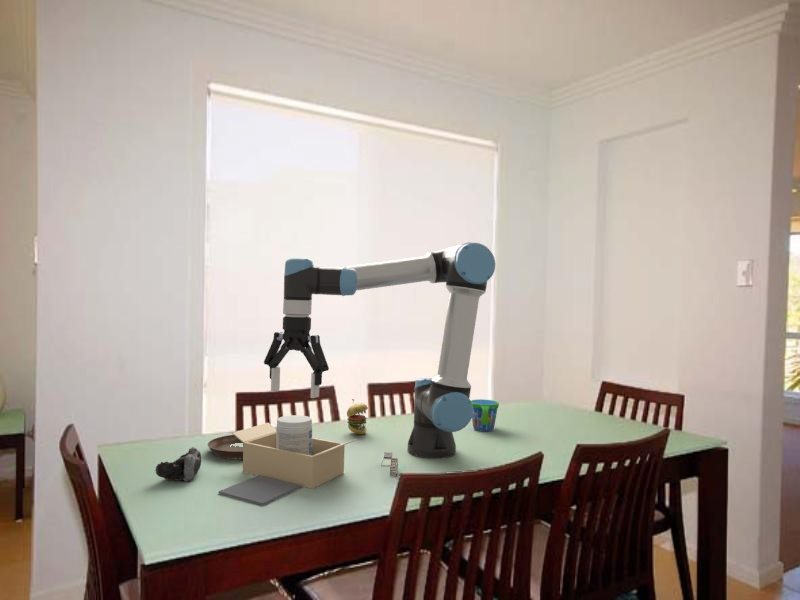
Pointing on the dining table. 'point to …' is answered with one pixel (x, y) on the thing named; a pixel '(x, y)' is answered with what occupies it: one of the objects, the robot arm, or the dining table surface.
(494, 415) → the snack cup
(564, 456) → the dining table surface
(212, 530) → the dining table surface
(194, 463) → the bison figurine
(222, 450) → the plant saucer
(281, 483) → the mat
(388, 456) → the staircase
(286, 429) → the supplement tub
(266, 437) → the carton
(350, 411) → the hamburger
